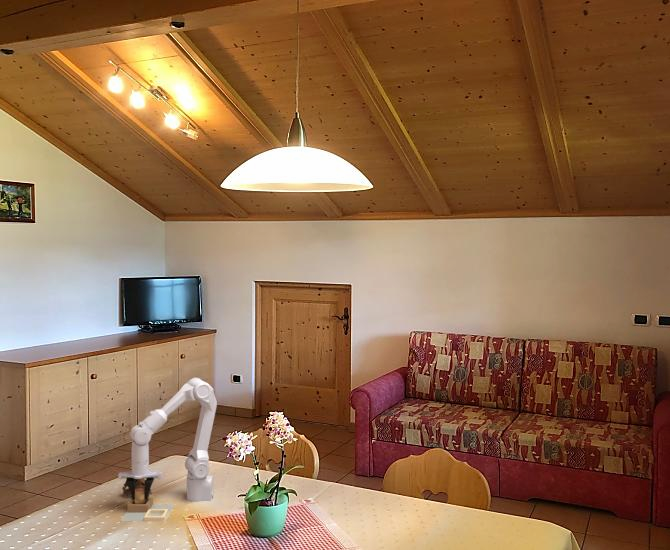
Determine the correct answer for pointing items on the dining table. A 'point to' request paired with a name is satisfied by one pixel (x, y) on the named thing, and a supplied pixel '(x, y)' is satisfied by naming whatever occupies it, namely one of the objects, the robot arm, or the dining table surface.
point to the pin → (140, 494)
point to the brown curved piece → (138, 482)
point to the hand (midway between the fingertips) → (140, 498)
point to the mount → (147, 511)
